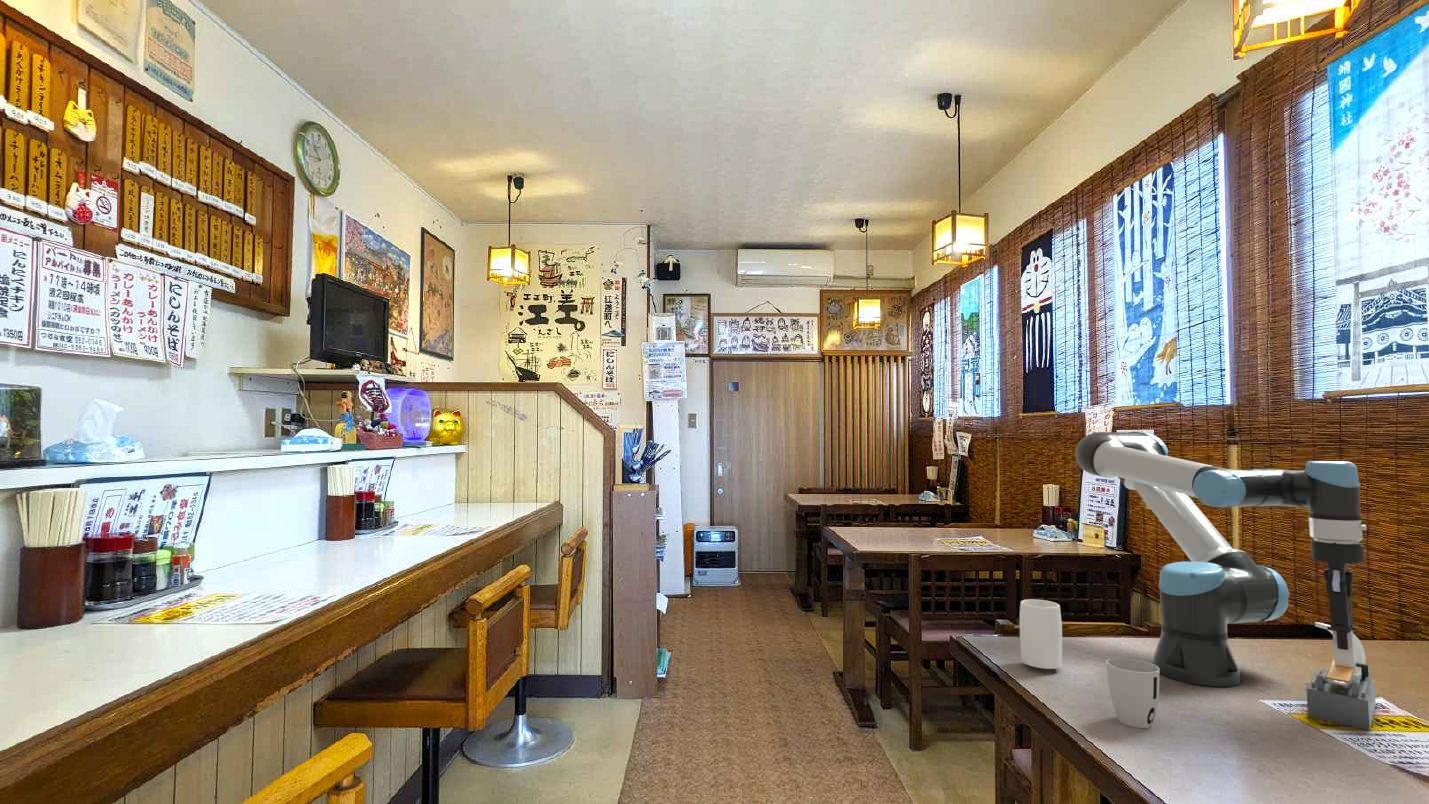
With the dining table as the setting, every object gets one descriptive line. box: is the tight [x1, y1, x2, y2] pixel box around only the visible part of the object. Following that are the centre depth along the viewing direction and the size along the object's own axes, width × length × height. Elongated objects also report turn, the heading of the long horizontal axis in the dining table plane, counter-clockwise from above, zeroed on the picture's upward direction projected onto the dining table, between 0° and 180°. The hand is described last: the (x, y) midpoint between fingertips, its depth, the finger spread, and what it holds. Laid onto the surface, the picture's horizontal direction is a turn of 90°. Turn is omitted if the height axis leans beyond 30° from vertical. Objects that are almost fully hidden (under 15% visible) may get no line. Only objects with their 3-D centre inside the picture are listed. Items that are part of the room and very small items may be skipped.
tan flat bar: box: [1326, 659, 1355, 683], centre depth 124 cm, size 13×3×1 cm, turn 132°
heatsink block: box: [1306, 662, 1376, 731], centre depth 123 cm, size 16×8×8 cm, turn 132°
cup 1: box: [1019, 598, 1063, 670], centre depth 146 cm, size 8×8×14 cm
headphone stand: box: [1314, 622, 1366, 676], centre depth 137 cm, size 5×6×12 cm
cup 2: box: [1105, 657, 1160, 729], centre depth 118 cm, size 8×8×10 cm
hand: (1344, 664), depth 126 cm, fingers closed, pressing on tan flat bar
